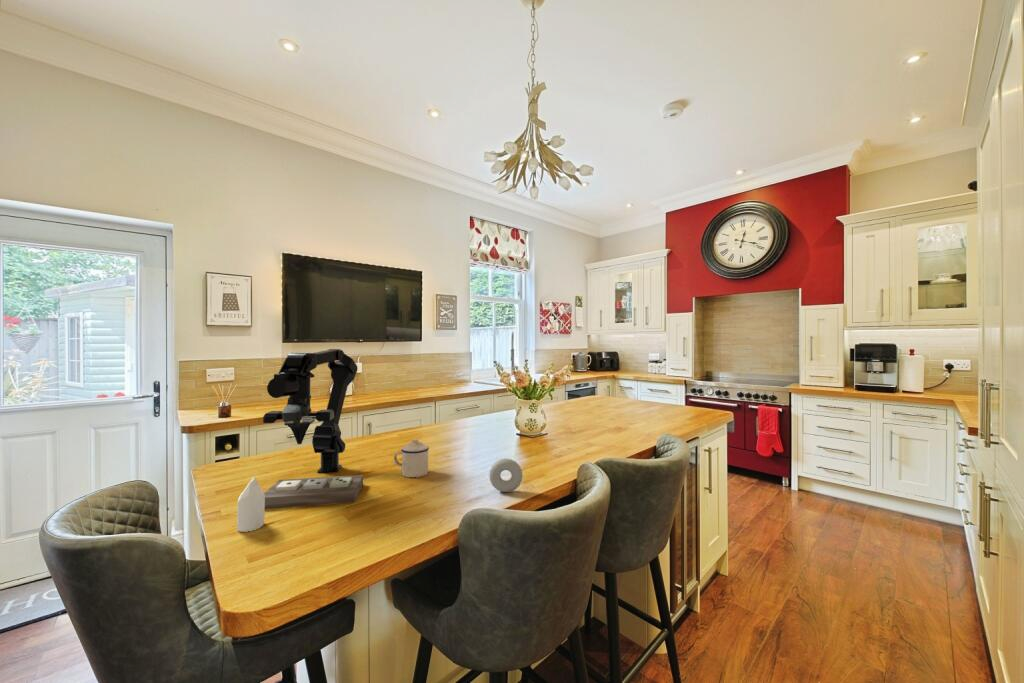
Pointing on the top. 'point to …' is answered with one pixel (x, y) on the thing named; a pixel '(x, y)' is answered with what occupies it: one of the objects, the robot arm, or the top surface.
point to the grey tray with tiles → (313, 494)
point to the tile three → (341, 482)
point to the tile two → (315, 484)
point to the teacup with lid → (413, 459)
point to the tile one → (288, 485)
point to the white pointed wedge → (251, 507)
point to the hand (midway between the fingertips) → (299, 444)
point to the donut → (505, 484)
